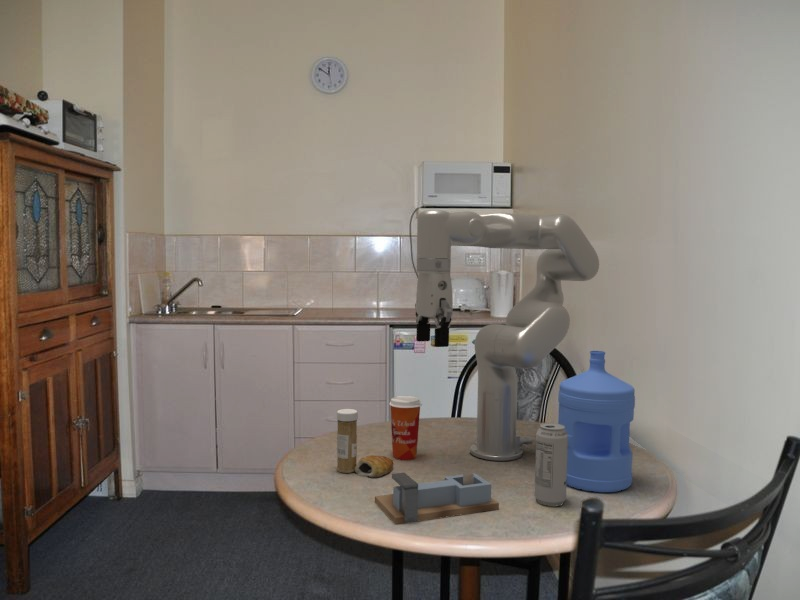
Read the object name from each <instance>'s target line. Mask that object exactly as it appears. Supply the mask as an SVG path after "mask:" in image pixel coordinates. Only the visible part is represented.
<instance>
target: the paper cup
mask: <svg viewBox="0 0 800 600" xmlns="http://www.w3.org/2000/svg"><path fill="white" fill-rule="evenodd" d="M388 404H389V405H390V423H391V425H390V426H391V427H390V428H391V447H392V458H393V459H395V460H398V459H400V460H399V461H412V460H416V458H417V451H418V441H419V440H418V439H419V428H420V427H419V426H420V414H421V413H420V412H421V406H423V404H422V403H421V400H420V398H418V397H416V396H412V395H411V396H409V395H398V396H394V397H392V398H391V399H390V402H389V403H388ZM411 459H412V460H411Z"/></svg>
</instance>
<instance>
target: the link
mask: <svg viewBox="0 0 800 600" xmlns="http://www.w3.org/2000/svg"><path fill="white" fill-rule="evenodd" d="M472 473H473V472H472ZM473 474H474V482H473V484H471V485H464V486H463V474H458V475H451V476H445V477H444V480H438V481H431V482H430V481H429V482H422V483H418V509H419V508H426V507H433V506H440V505H447V504H454V503H456V504H457V505H458V506H459V507H462V506H469V505H476V504H483V503H490V502H491V498H492V483H491V482H489V481H487V480H486V479H484V478H483V477H481V476H479V475H478V474H477V473H473ZM392 491H393V493H392V494H393V506H394V507H395V508H396V509H397V510H398V511H402V487H401V486H400V485H398V486H393V490H392Z"/></svg>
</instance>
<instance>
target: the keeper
mask: <svg viewBox="0 0 800 600" xmlns="http://www.w3.org/2000/svg"><path fill="white" fill-rule="evenodd" d="M391 479H392V480H393V481H394V482H396V483H397V485H398V486H401V487H402V514H403V515H404V516H405V523H404V524H407V523H408V522H409V523H415V522H419V521H418V484H419V482H417V481H415V480H414V479H413V478H411V477H410V476H409V475H408V474H406V472H396V473H392V474H391Z"/></svg>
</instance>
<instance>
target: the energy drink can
mask: <svg viewBox="0 0 800 600" xmlns="http://www.w3.org/2000/svg"><path fill="white" fill-rule="evenodd" d="M535 436H536V437H535V465H534V498H536V502H537V503H539V504H540V505H542V504H543V506H546V505H548V506H547V507H557V506H556V505H560V506H562V505H563V504H564V502H565V501H566V499H567V485H566V482H567V450H568V435H567V433H566V431H565V426H563V425H561V424H558V423H556V422H555V423H554V422H543V423H540V424H539V428H538V429H537V432H536V433H535ZM562 503H563V504H562ZM561 504H562V505H561Z"/></svg>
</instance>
